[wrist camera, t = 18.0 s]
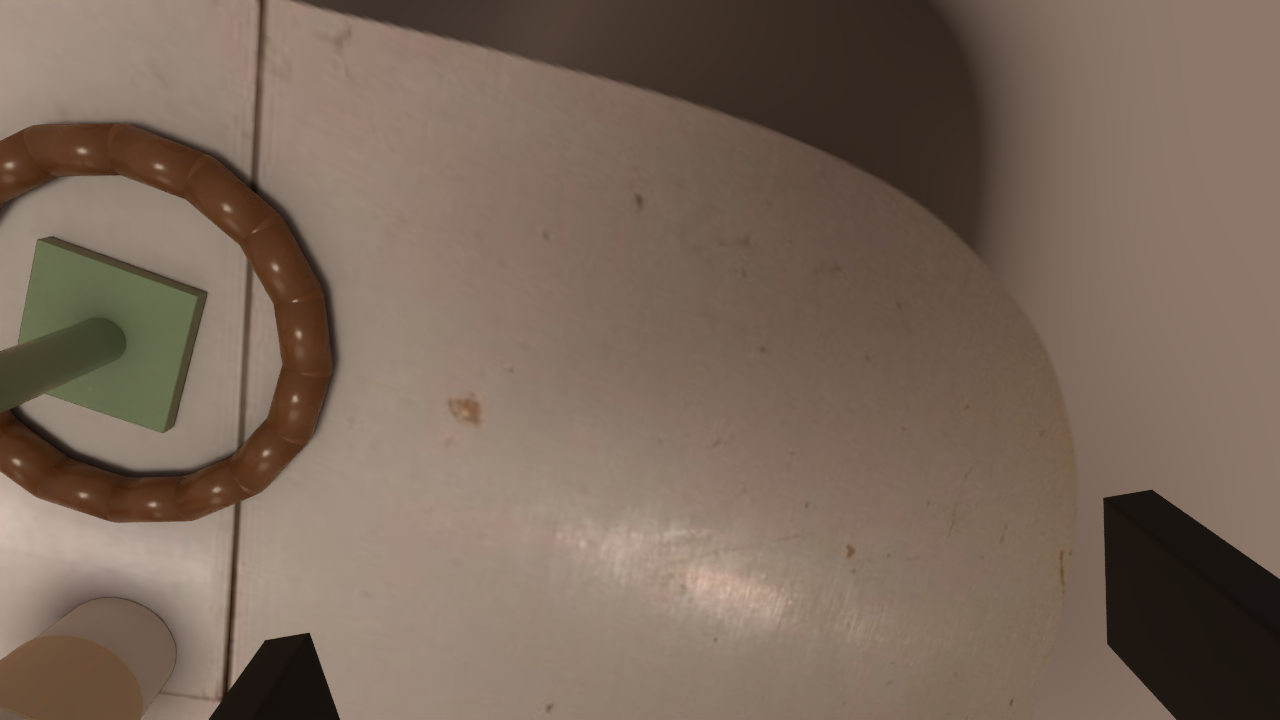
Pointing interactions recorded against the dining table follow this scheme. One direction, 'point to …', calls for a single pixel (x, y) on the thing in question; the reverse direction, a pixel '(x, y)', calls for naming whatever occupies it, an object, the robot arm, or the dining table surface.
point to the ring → (277, 265)
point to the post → (102, 337)
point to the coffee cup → (89, 665)
